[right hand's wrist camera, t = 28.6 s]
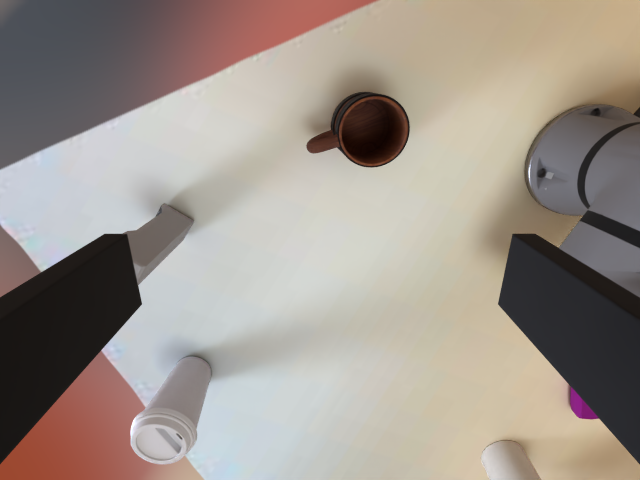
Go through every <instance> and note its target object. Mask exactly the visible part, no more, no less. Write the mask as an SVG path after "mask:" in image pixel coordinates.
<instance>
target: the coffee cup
mask: <svg viewBox="0 0 640 480" xmlns="http://www.w3.org/2000/svg"><path fill="white" fill-rule="evenodd" d="M210 378H211V368H210V366H209V364H208V363H207V362H206V361H204V360H203V359H201V358H198V357H185V358H183V359H181V360H180V361H179V362H178V363H177V364H176V366H175V367H174V369H173V370H172V371H171V373H170V374H169V376H168V377H167V379H166V380H165V381H164V383H163V384H162V386H161V387H160V389H159V390H158V391H157V393H156V394H155V396H154V397H153V399H152V400H151V401H150V403H149V404H148V406H147V407H146V409H145V410H144V411H143V412H141V413H140V414H138V415H137V416H136V418H135V419H134V421H133V423H132V427H131V446H132V448H133V450H134V451H135V453H136V454H137V455H138V456H140V457H141V458H143V459H144V460H146V461H149V462H152V463H156V464H170V463H174V462H176V461H178V460H180V459H181V458H182V457H183V456H184V455H185V454H187V453H188V452H189V451H190V450H191V448H192V447H193V446H194V444H195V442H196V440H197V430H196V428H197V425H198V421H199V417H200V414H201V410H202V406H203V403H204V399H205V396H206V392H207V388H208V385H209V381H210Z"/></svg>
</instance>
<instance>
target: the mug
mask: <svg viewBox="0 0 640 480" xmlns="http://www.w3.org/2000/svg"><path fill="white" fill-rule="evenodd" d="M409 128H410V126H409V120H408V116H407V114H406V112H405V110H404V108H403V107H402V106H401V105H400V104H399V103H398V102H397V101H396V100H394V99H393V98H391V97H389V96H386V95H381V94H376V93H371V92H359V93H355V94H352V95H350V96H348V97H347V98H345V99H344V100H343V101H342V102H341V103H340V104H339V105H338V106H337V108H336V110H335V112H334V114H333V117H332V121H331V130H330V131H327V132H325V133H322V134H320V135H318V136H316V137H314V138H312V139H311V140H309V142H308V143H307V150H308V151H309V152H310V153H319V152H323V151H326V150H330V149H333V148H336V147H337V148H338V149H339V150H340V151H341V152H342V153H343V154H344V155H345V156H346V157H347V158H348V159H349V160H350V161H352V162H353V163H355V164H357V165H360V166H363V167H378V166H382V165H385V164H387V163H389V162H391V161H392V160H394V159H395V158H396V157H397V156H398V155H399V154H400V153H401V152H402V150H403V149H404V147H405V145H406V143H407V141H408V137H409Z"/></svg>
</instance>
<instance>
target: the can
mask: <svg viewBox="0 0 640 480" xmlns="http://www.w3.org/2000/svg"><path fill="white" fill-rule="evenodd" d="M481 461H482V464H483V466H484V468H485V470H486V473H487V475H488V477H489V479H490V480H541V478H540V477H539V475H538V473H537V472H536V470H535V468H534V467H533V465H532V463H531V461H530V460H529V458H528V456H527V455H526V453H525V451H524V449H523V448H522V446H521V445H520V444H518V443H516V442H514V441H508V440H504V441H498V442H495V443H493V444H491V445H489V446H488V447H487V448H486V449H485V450H484V451H483V453H482V455H481Z"/></svg>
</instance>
